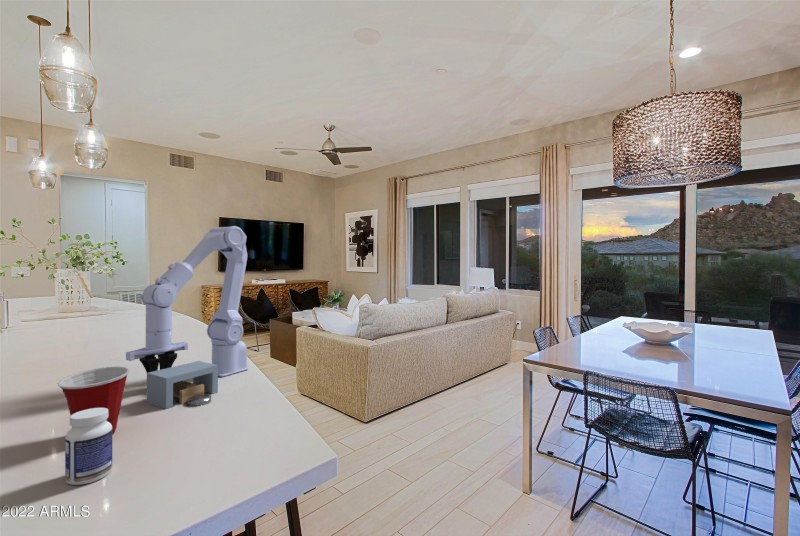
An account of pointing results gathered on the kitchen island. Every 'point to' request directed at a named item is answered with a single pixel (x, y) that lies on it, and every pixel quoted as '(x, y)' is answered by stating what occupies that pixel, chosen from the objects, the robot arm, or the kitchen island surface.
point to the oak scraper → (186, 390)
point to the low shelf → (164, 379)
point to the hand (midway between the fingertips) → (158, 382)
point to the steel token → (199, 400)
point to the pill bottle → (88, 447)
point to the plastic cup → (96, 391)
